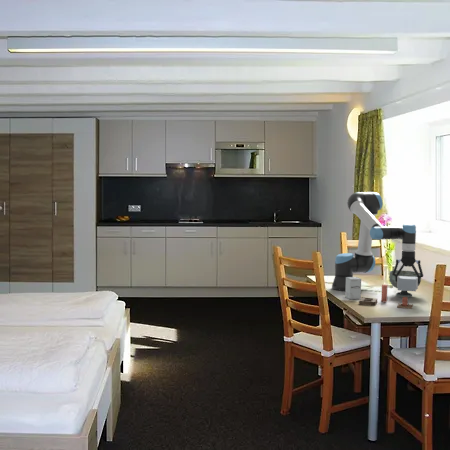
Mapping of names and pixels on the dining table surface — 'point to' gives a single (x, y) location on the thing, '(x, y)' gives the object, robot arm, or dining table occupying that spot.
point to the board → (405, 303)
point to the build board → (368, 301)
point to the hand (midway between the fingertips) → (407, 288)
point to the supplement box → (353, 288)
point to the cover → (407, 283)
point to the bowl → (394, 283)
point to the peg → (384, 293)
